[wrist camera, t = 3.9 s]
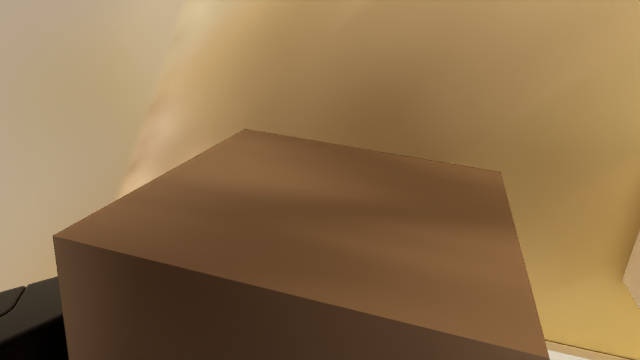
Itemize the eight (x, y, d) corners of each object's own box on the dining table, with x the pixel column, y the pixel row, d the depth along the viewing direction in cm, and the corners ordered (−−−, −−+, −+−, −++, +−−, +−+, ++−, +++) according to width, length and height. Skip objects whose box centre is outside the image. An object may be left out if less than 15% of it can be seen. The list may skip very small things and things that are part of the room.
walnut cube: (500, 172, 8) (549, 358, 4) (447, 384, 10) (439, 679, 6) (245, 129, 10) (52, 235, 5) (238, 328, 11) (92, 537, 7)
